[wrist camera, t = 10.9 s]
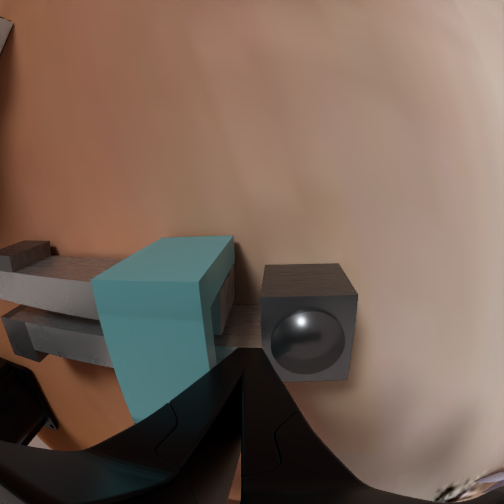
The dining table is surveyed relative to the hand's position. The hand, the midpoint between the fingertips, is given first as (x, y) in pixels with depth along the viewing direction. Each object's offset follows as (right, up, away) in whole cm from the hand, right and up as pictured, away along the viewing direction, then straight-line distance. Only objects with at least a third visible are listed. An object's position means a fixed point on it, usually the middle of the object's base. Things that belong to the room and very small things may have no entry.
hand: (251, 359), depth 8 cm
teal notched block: (-2, +1, +4) cm, 5 cm away
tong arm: (-7, +3, +4) cm, 8 cm away
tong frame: (-4, +1, +5) cm, 6 cm away
